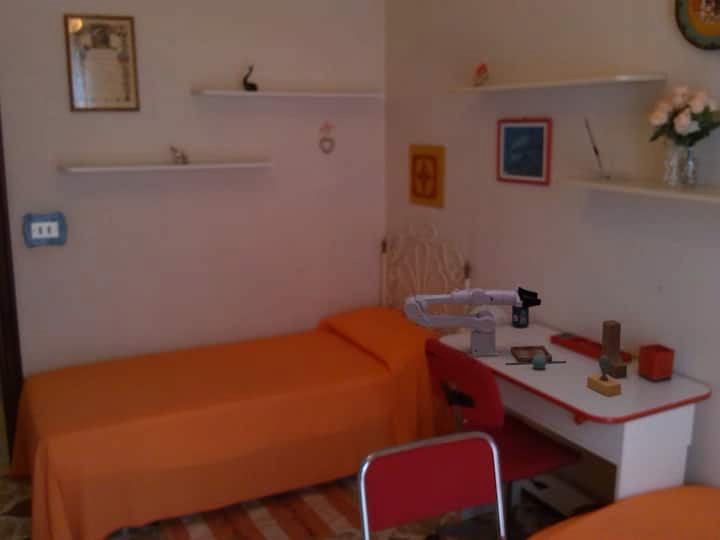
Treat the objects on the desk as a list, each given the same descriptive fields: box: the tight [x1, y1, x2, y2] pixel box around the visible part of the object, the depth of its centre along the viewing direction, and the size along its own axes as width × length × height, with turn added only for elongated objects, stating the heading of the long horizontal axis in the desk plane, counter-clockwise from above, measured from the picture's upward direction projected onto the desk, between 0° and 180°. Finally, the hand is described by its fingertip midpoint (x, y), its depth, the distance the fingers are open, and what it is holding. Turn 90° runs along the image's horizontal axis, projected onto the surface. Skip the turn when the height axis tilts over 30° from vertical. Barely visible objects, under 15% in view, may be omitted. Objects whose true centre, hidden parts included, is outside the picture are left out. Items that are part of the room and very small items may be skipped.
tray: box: [510, 345, 553, 363], centre depth 265 cm, size 13×13×2 cm
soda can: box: [511, 306, 530, 329], centre depth 301 cm, size 7×7×12 cm
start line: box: [505, 360, 567, 366], centre depth 258 cm, size 22×1×1 cm, turn 89°
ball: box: [531, 355, 547, 370], centre depth 252 cm, size 5×5×5 cm
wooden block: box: [601, 319, 628, 379], centre depth 243 cm, size 9×4×18 cm, turn 13°
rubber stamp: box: [586, 355, 622, 397], centre depth 230 cm, size 10×6×12 cm, turn 22°
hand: (539, 298), depth 265 cm, fingers open, 7 cm apart
